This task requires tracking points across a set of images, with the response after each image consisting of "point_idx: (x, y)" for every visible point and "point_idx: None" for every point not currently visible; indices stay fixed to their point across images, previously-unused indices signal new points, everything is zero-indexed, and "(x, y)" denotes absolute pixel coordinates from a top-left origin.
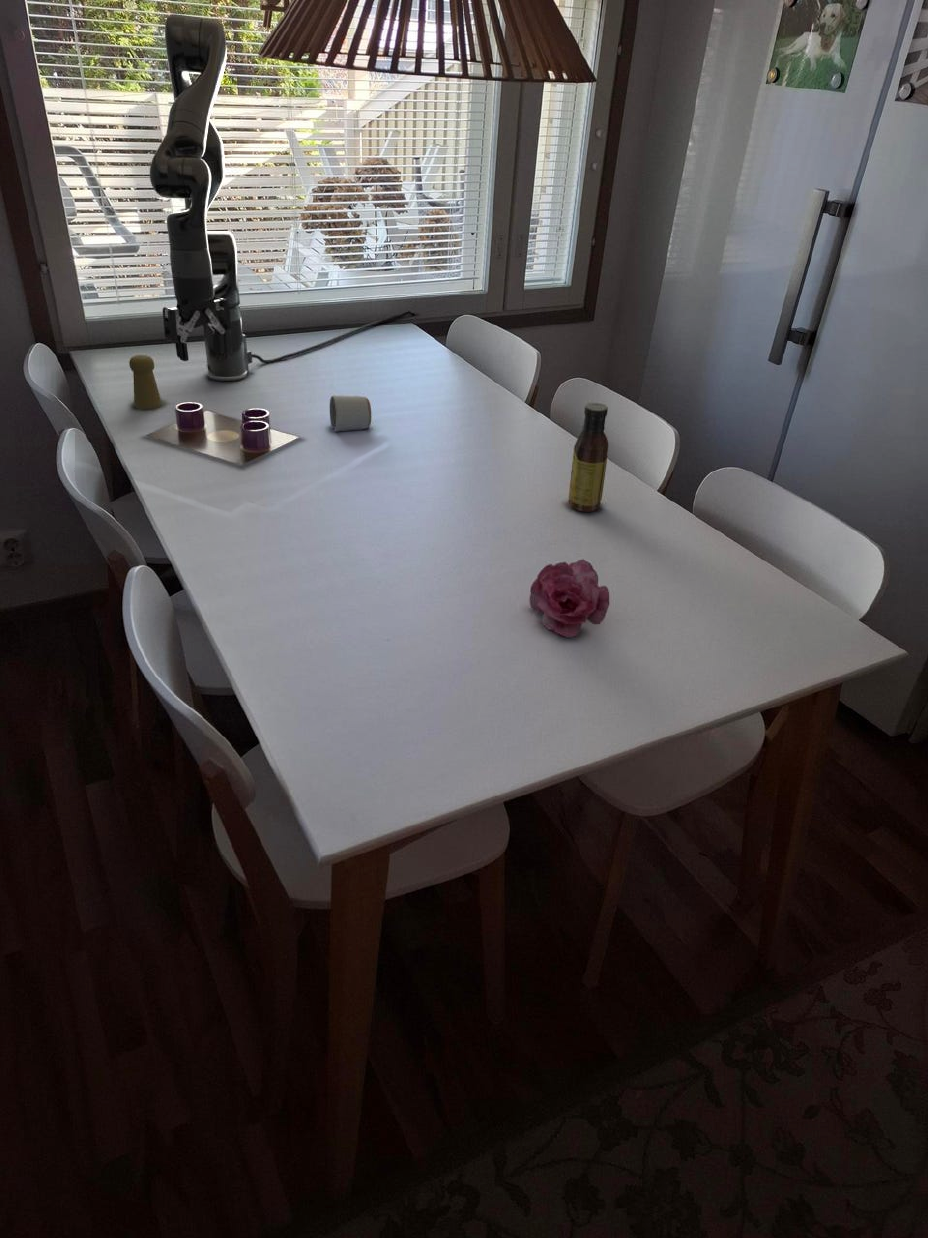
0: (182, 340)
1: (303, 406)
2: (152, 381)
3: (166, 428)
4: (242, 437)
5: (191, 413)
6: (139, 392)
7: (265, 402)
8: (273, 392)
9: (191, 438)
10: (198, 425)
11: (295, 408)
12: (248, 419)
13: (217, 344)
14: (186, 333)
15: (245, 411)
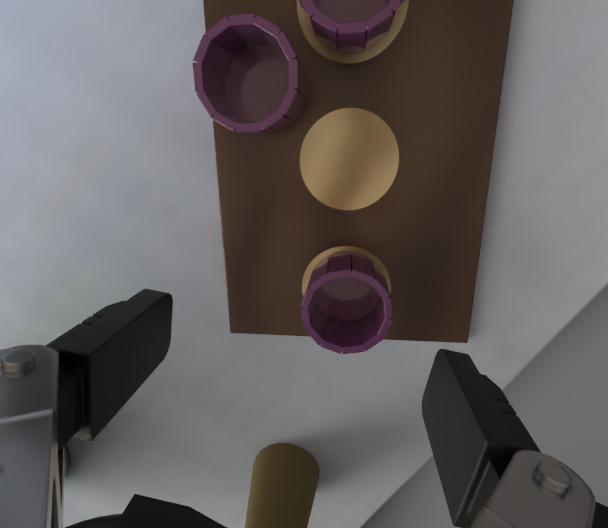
0: (564, 471)
1: (4, 147)
2: (269, 511)
3: (396, 331)
4: (401, 6)
5: (374, 276)
6: (309, 504)
7: (68, 259)
8: (5, 291)
9: (417, 226)
10: (356, 255)
11: (32, 156)
12: (299, 64)
13: (143, 342)
14: (521, 525)
15: (256, 123)
